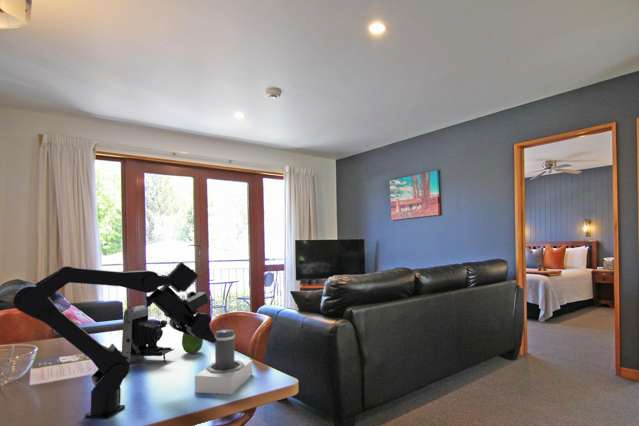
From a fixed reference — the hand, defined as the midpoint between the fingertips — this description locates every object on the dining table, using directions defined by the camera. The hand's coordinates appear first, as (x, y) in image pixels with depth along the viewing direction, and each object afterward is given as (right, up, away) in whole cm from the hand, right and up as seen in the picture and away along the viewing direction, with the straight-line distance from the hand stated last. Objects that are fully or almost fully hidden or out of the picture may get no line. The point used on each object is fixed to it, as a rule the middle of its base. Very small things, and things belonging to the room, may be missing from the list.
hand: (208, 339), depth 111 cm
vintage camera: (-29, -17, +25) cm, 42 cm away
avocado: (-16, -17, +34) cm, 41 cm away
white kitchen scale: (+5, -14, +1) cm, 14 cm away
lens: (+4, -13, +1) cm, 13 cm away
